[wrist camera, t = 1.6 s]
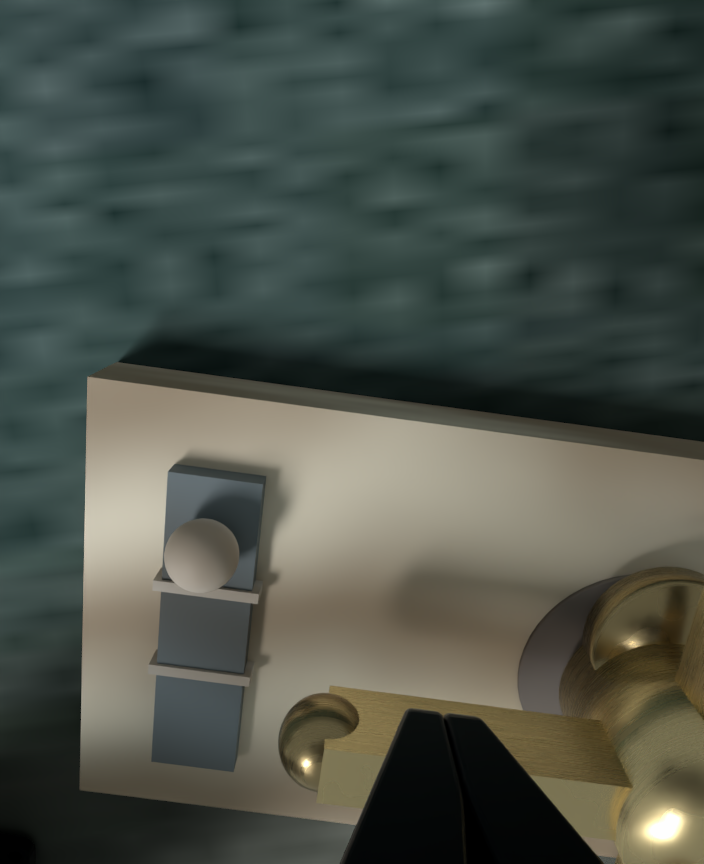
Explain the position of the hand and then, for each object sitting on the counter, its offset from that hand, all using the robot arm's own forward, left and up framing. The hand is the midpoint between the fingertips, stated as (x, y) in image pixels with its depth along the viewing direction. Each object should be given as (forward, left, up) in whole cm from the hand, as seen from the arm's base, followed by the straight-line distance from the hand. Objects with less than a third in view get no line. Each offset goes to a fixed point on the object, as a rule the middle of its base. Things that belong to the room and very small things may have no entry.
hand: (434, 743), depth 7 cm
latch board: (-5, -4, -12) cm, 14 cm away
